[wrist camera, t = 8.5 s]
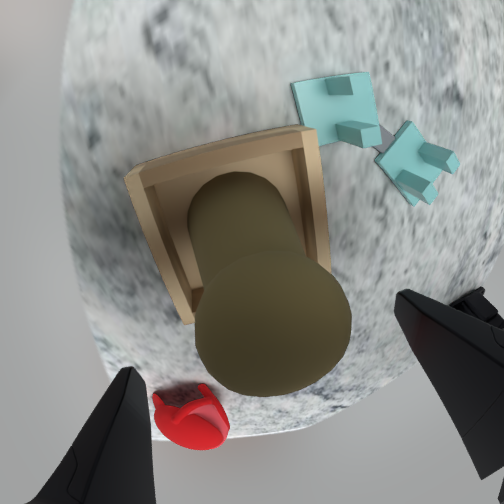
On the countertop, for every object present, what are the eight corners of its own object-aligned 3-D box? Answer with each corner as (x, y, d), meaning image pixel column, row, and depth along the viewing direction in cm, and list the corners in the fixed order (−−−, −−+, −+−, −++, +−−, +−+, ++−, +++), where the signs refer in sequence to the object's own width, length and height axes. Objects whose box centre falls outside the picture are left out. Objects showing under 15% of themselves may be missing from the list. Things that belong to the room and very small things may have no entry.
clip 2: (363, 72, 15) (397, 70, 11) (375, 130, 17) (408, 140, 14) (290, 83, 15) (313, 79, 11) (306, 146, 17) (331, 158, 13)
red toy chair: (237, 401, 22) (177, 431, 18) (242, 445, 23) (190, 474, 19) (188, 366, 28) (136, 385, 24) (196, 408, 29) (150, 428, 25)
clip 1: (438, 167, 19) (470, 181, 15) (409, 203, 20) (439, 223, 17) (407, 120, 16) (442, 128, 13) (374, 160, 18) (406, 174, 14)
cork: (298, 241, 19) (382, 374, 9) (212, 277, 19) (233, 433, 10) (267, 154, 16) (370, 243, 6) (169, 197, 16) (135, 341, 7)
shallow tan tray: (315, 261, 21) (332, 284, 18) (184, 296, 20) (184, 325, 18) (297, 124, 16) (316, 129, 13) (135, 165, 15) (123, 178, 13)
